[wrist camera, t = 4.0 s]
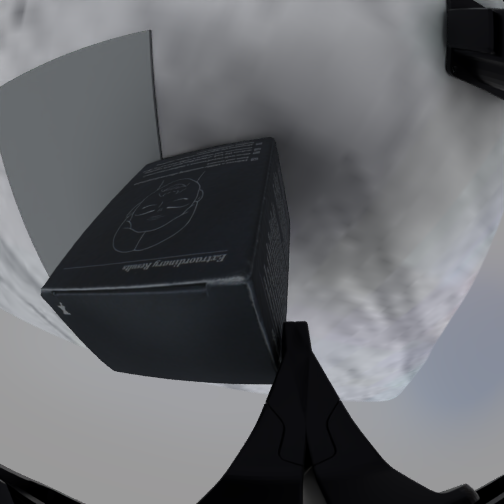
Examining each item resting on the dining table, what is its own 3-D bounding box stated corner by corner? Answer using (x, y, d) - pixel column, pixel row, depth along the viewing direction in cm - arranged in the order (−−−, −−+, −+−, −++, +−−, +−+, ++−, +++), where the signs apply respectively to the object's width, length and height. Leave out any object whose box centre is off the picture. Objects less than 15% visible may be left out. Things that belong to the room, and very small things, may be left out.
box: (177, 236, 19) (112, 373, 11) (146, 161, 16) (33, 288, 8) (292, 222, 17) (284, 390, 9) (276, 133, 14) (248, 280, 6)
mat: (150, 30, 11) (149, 29, 11) (187, 297, 23) (187, 299, 23) (-9, 92, 11) (-11, 93, 11) (58, 289, 23) (57, 291, 23)
